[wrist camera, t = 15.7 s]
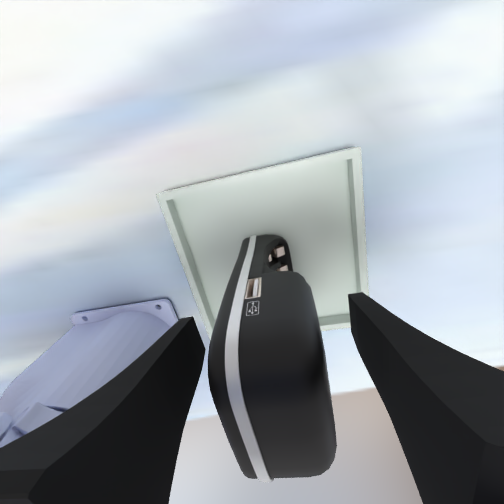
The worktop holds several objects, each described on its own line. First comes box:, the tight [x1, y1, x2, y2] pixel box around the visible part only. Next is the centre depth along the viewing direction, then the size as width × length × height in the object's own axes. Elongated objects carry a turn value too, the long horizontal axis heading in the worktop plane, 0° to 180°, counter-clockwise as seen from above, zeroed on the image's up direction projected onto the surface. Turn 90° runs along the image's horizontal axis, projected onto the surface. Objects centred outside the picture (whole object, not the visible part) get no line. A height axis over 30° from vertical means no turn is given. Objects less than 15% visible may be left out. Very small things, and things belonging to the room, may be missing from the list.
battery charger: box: [208, 234, 337, 482], centre depth 13 cm, size 7×4×11 cm, turn 13°
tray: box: [156, 147, 369, 341], centre depth 17 cm, size 12×12×2 cm
